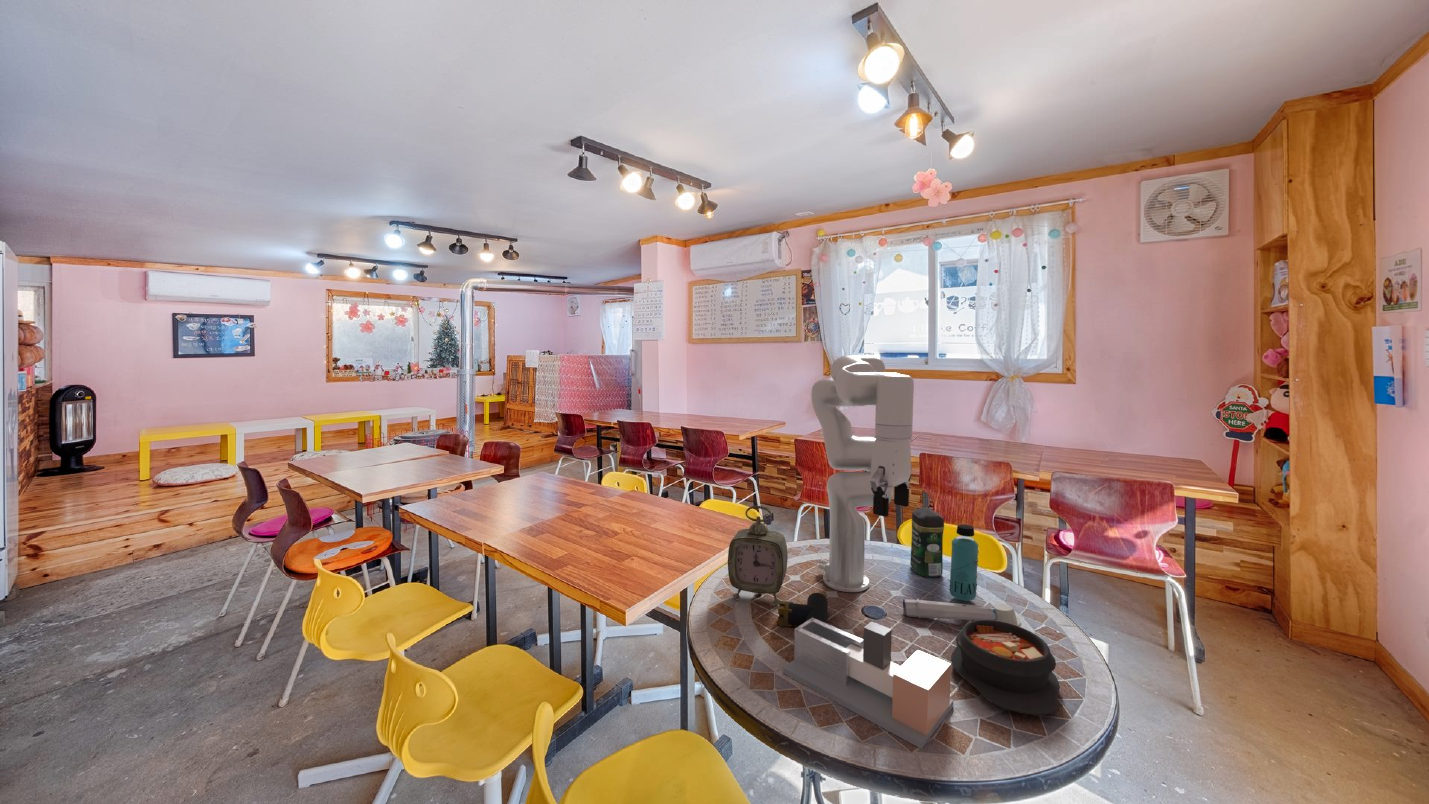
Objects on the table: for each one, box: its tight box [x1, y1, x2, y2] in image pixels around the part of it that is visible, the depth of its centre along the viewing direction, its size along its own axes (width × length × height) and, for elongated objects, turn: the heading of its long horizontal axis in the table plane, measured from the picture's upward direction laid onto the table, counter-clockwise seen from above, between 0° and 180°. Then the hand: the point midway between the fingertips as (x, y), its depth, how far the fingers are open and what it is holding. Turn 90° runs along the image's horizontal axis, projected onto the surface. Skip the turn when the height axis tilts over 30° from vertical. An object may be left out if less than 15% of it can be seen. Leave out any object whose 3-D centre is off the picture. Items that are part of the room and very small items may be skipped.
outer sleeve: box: [793, 618, 864, 686], centre depth 102 cm, size 12×6×7 cm, turn 45°
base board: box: [782, 659, 954, 750], centre depth 97 cm, size 28×14×1 cm, turn 45°
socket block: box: [892, 649, 952, 736], centre depth 88 cm, size 6×10×8 cm, turn 135°
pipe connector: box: [777, 592, 829, 627], centre depth 120 cm, size 12×5×15 cm
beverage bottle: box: [949, 523, 979, 602], centre depth 130 cm, size 6×7×20 cm
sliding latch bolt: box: [846, 621, 902, 698], centre depth 93 cm, size 16×4×11 cm, turn 45°
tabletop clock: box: [727, 505, 789, 606], centre depth 132 cm, size 14×9×25 cm, turn 73°
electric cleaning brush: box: [902, 597, 1022, 627], centre depth 120 cm, size 5×7×25 cm
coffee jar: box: [909, 507, 945, 578], centre depth 148 cm, size 10×8×19 cm
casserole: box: [950, 620, 1061, 716], centre depth 99 cm, size 25×19×8 cm
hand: (891, 510), depth 109 cm, fingers open, 9 cm apart
